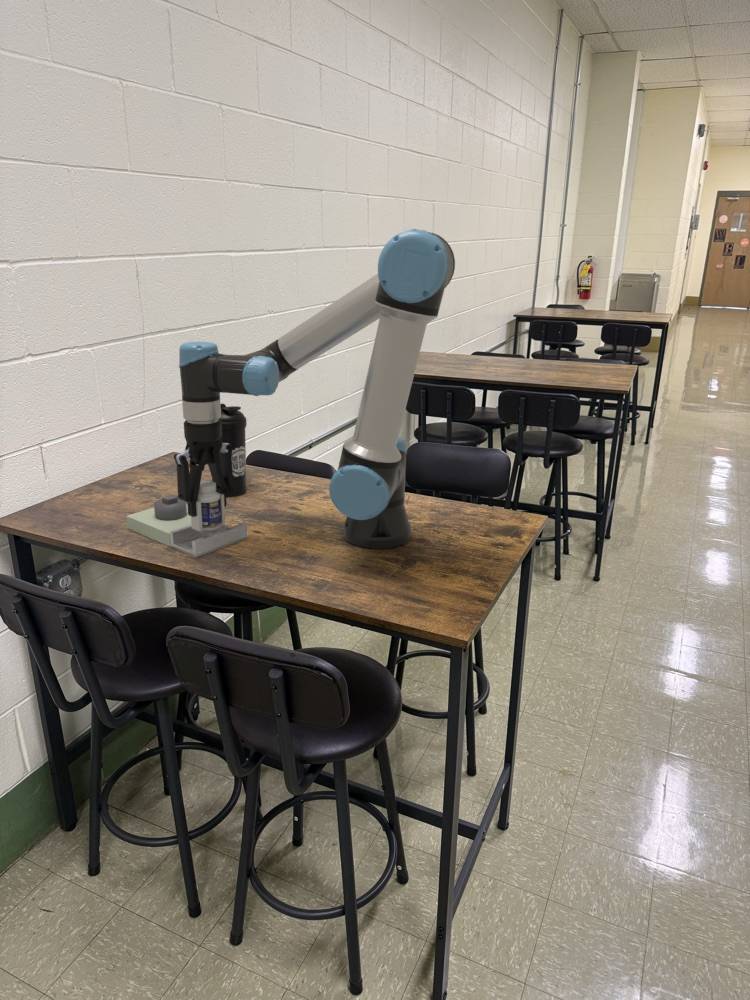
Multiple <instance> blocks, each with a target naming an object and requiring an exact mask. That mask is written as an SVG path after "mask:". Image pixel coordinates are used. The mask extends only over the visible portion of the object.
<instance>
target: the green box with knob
mask: <svg viewBox="0 0 750 1000" xmlns="http://www.w3.org/2000/svg"><path fill="white" fill-rule="evenodd" d="M125 519H126V528H127V529H128V530H131V531H133V532H136V533H137V534H140V535H142V536H144V537H146V538H149V539H151V540H154V541H156V542H158V543H161V544H163V545H165V546H168V547H169V548H172V547H171V541H170V532H171V531H174V530H177V529H180V528H183V527H186V526H189V525H191V516H189V515H188V506H187V502H186V501H183V500H180V499H179V498H178V496H175V495H172V494H170V495H167V496H164V497H161V498H160V499H157V500H155V501H154V502H153V507H151V508H149V509H144V510H142V511H138V512H134V513H130V514H129V515H125Z"/></svg>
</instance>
